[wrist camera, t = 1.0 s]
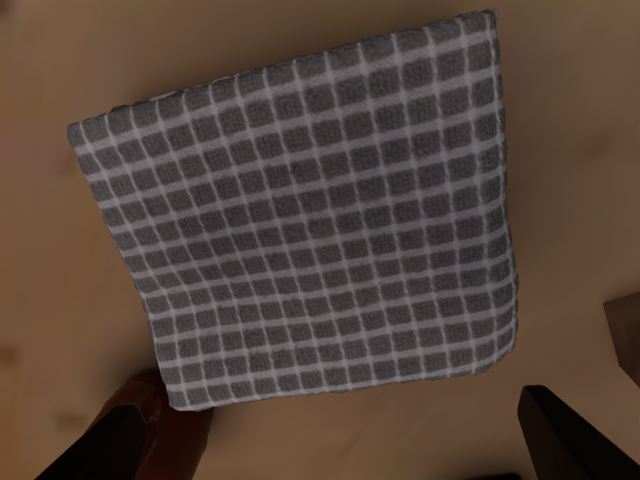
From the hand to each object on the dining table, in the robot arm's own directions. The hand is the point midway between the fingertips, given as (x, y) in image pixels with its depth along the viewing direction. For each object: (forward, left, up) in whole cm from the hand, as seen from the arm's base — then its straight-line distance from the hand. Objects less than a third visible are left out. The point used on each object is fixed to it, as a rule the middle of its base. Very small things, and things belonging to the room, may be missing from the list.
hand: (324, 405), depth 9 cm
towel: (+1, +2, -14) cm, 14 cm away
